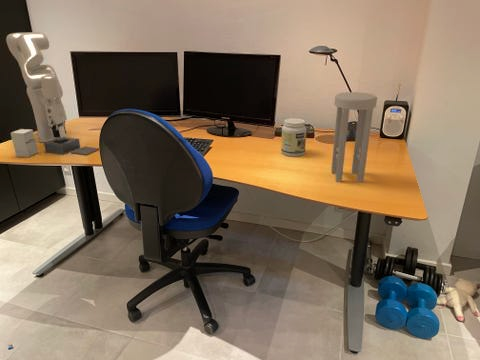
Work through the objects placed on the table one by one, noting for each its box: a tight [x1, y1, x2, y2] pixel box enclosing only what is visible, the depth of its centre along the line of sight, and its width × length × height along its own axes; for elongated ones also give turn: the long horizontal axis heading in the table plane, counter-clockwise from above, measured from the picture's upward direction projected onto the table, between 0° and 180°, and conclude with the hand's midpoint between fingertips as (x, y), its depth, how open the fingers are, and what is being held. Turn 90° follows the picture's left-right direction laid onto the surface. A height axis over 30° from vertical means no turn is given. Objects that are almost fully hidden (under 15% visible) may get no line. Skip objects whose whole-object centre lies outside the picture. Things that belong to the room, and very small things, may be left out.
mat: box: [70, 146, 100, 157], centre depth 196 cm, size 10×10×1 cm
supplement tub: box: [280, 117, 307, 158], centre depth 187 cm, size 12×12×17 cm
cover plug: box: [54, 123, 67, 143], centre depth 196 cm, size 5×5×12 cm
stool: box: [330, 91, 378, 183], centre depth 155 cm, size 16×16×35 cm
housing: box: [43, 136, 81, 156], centre depth 198 cm, size 12×12×5 cm
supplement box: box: [10, 128, 39, 158], centre depth 190 cm, size 7×7×13 cm
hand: (60, 135), depth 196 cm, fingers closed on cover plug, 5 cm apart
